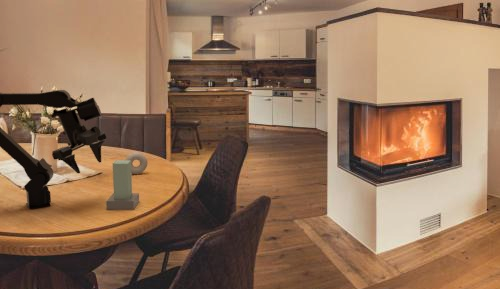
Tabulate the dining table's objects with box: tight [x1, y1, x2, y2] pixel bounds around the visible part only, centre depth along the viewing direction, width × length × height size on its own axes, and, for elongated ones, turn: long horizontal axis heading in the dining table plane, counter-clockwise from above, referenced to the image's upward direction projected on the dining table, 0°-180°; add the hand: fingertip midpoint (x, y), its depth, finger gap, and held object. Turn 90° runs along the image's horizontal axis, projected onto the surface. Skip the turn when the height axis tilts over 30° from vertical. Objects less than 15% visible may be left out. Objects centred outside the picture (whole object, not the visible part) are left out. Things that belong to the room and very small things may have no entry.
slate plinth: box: [105, 192, 140, 211], centre depth 142 cm, size 9×9×3 cm
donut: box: [125, 151, 148, 175], centre depth 184 cm, size 10×4×10 cm, turn 109°
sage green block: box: [112, 159, 133, 199], centre depth 141 cm, size 5×5×12 cm
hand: (89, 167), depth 143 cm, fingers open, 9 cm apart
